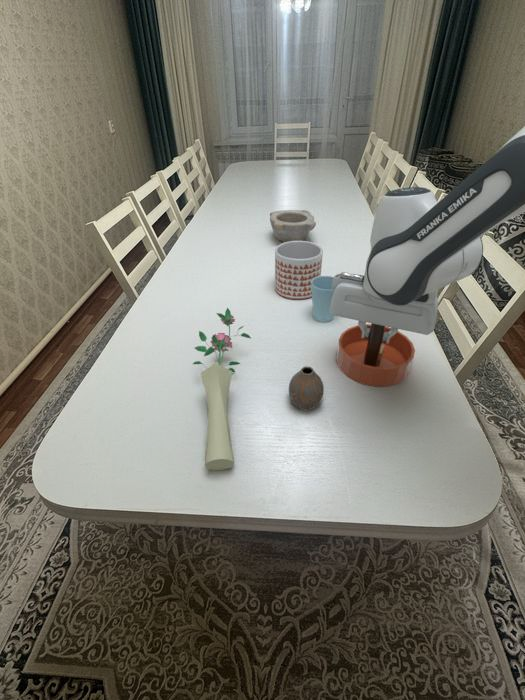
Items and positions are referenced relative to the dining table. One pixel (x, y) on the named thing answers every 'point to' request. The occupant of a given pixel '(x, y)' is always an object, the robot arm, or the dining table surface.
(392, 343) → the bowl
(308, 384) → the vase
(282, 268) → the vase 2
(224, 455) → the flower vase
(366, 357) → the dark brown cylinder
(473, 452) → the dining table surface
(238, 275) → the dining table surface
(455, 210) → the robot arm
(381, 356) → the block
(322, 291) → the cup
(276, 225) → the mortar
